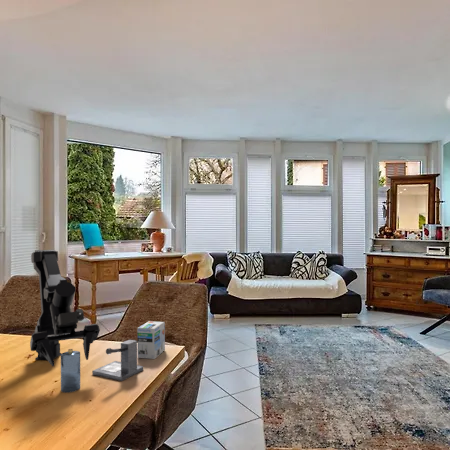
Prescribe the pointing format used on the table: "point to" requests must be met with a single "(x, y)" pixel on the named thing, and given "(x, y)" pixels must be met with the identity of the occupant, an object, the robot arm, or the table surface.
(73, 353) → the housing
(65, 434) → the table surface
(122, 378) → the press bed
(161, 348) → the light bulb box
